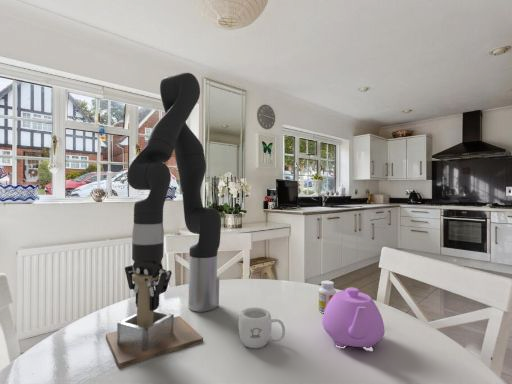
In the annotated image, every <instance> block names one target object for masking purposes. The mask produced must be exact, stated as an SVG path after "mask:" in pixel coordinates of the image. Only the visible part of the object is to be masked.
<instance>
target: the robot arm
mask: <svg viewBox="0 0 512 384" xmlns="http://www.w3.org/2000/svg"><path fill="white" fill-rule="evenodd" d="M159 93H160V98H161V102H162V106H163V109H164V112H165V113H164V115H163V116H162V117H160V119H159V120H158V121H157V122H156V123H155V125H154V126H153V127H152V129H151V132H150V135H149V136H148V140H147V141H146V145H145V146H144V147H143V148H142V149H141V150H140V152H139V153H138V154H137V156H136V157H135V158H134V159H133V160H132V162H131V163H130V165H129V167H128V170H127V175H126V178H127V182H128V185H129V186H130V187H131V188H132V189H134V190H138V191H149V194H148V195H147V197H146V198H142V199H139V200H137V201H135V202H134V206H133V227H132V236H131V237H132V239H131V240H132V241H131V245H132V246H131V260H132V261H133V264H130V265H128V266H125V267H124V272H125V275H126V280H127V286H128V288H129V290H133V292H134V293H135V305H136V308H137V304H138V290H139V286H138V283H135V282H134V281H132V275H133V274H134V273H136V274H138V275H141V274H143V275H145V276H152V277H153V278H155V277H156V276H157V275H158V276H159V279H157V280H156V281H154V282H153V283H152V281H151V280H150V277H149V283H147V287H149V290H150V295H151V296H150V310H151V311H154V310H157V309H158V308H159V307H160V295H162V294H163V293H166V292H167V289H168V286H169V283H170V280H171V277H172V274H173V273H172V270H170V269H169V270H166V269H165V268H164V267H163V263H162V260H163V258H164V246H165V245H164V242H165V241H164V239H165V234H164V233H165V231H164V223H163V222H164V206H165V202H166V199H167V195H168V192H169V188H170V186H171V185H170V184H171V181H172V175H171V171H170V169H169V166H168V165H167V164H166V163H165V162H168V161H169V160H170V159H171V158H172V156H173V152H174V156H175V162H176V167H177V172H178V173H177V174H178V176H179V182H180V189H181V196H182V204H183V217H184V223H185V227H186V228H187V230H188V231H189V232H190V233H192V234H194V235H195V234H196V235H198V241H197V243H196V244H193V245H191V246H190V248H189V259H188V261H189V264H188V265H189V266H188V268H189V269H188V271H189V272H188V301H187V303H188V305H187V306H188V309H189V310H190V311H193V312H197V313H198V312H199V313H200V312H201V313H202V312H203V313H204V312H209V311H213V310H215V308H217V307H219V306H220V277H218V251H219V247H220V244H221V233H222V218H221V214H220V212H219V210H218V209H216V208H214V207H208V206H204V205H203V200H202V186H203V181H204V178H205V175H206V171H207V161H206V156H205V150H204V147H203V145H202V142H201V141H200V140H199V138H198V137H197V136H196V135H195V133H194V132H193V131H192V130H191V129H190V127H189V126H188V124H187V120H188V118H189V117H190V115H191V114H192V112H193V110H194V108H195V107H196V105H197V103H198V101H199V99H200V95H201V86H200V82H199V80H198V79H197V77H196V76H195V75H194V74H193V73H191V72H182V73H181V72H180V73H176V74H173V75H168V76H166V77H163V78H162V79H161V80H160V83H159Z"/></svg>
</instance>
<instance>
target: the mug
mask: <svg viewBox="0 0 512 384" xmlns="http://www.w3.org/2000/svg"><path fill="white" fill-rule="evenodd" d="M272 323H279V324H280V326H281V330H282V331H281V336H280V337H273V336H271V334H272V333H271V332H272V327H273V326H272ZM238 333H239V338H240V341H241V342H242V344H243V345H244V346H245V347H247V348H250V349H261V348H263V347H265V346H266V345H267V343H268V342H269V340H271V341H272V342H280V341H281V340H283V339H284V337H285V334H286V327H285V325H284V322H283V321H282V320H281V319H277V318H273V319H272V316H271V312H270V311H268V310H267V309H266V308H262V307H248V308H245V309H242V310H241V311H240V313H239V316H238Z"/></svg>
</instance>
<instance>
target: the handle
mask: <svg viewBox="0 0 512 384" xmlns="http://www.w3.org/2000/svg"><path fill="white" fill-rule="evenodd" d="M159 276H160V275H159ZM159 276H158V275H157V276H156V277H155V278H153V277H152V276H145V275H143V274H141V275H138V274H136V273H134V274H133V275H132V281H133V283H134V282H135V283H138V286H139V290H138V304H137V307H136V314H137V324H138V326H141V327H145V328H146V327H147V326H149V325H151V324H153V317H154V311H151V310H150V296H151V295H150V290H149V287H147V283H149V277H150V280H151V281H152V283H153V282H155V281H156V280H157V279H159Z"/></svg>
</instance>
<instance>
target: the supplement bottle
mask: <svg viewBox="0 0 512 384" xmlns="http://www.w3.org/2000/svg"><path fill="white" fill-rule="evenodd" d="M320 284H321V285H320V286H321V287H319V289H318V311H319V310H320V311H321V312H324V311H325V308H326V306H327V304H328V303H329V301H330V300H331V298H332V297H333V296H334V294H335V293H337V291H336V289H335V288H334V287H335V283H334V281H332V280H322V281H321V283H320ZM321 312H320V313H321Z"/></svg>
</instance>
